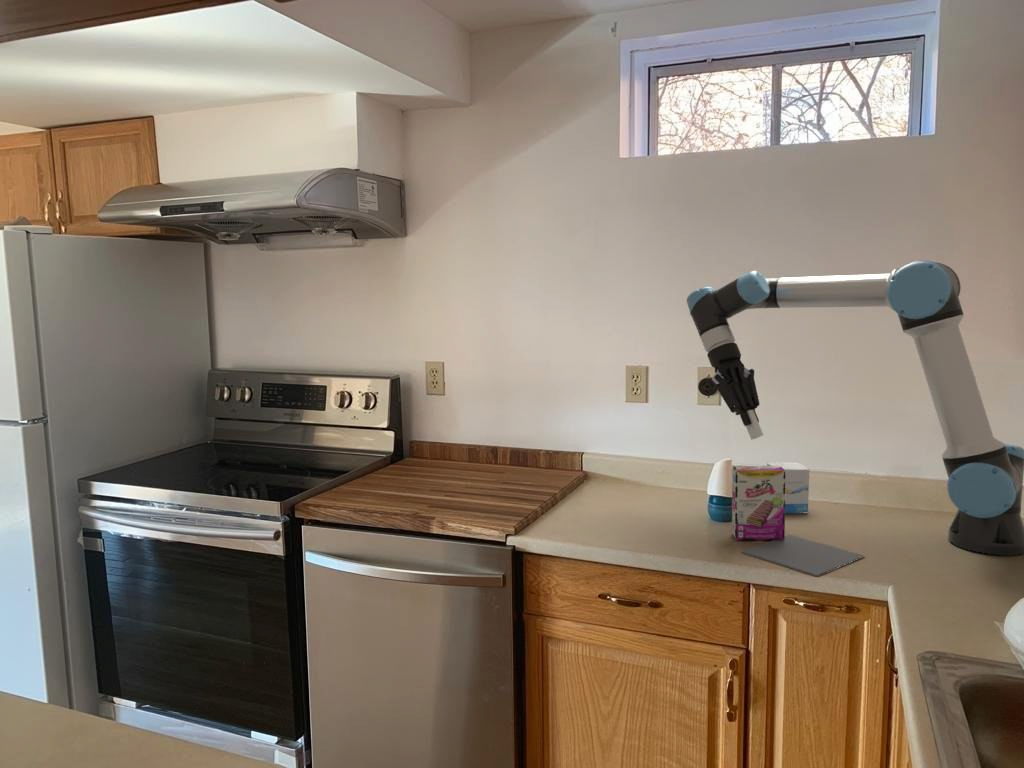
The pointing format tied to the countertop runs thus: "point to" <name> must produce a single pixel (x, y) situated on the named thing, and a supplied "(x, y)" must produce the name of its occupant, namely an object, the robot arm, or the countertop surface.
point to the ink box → (795, 486)
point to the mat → (802, 555)
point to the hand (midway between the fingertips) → (757, 437)
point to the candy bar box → (758, 502)
